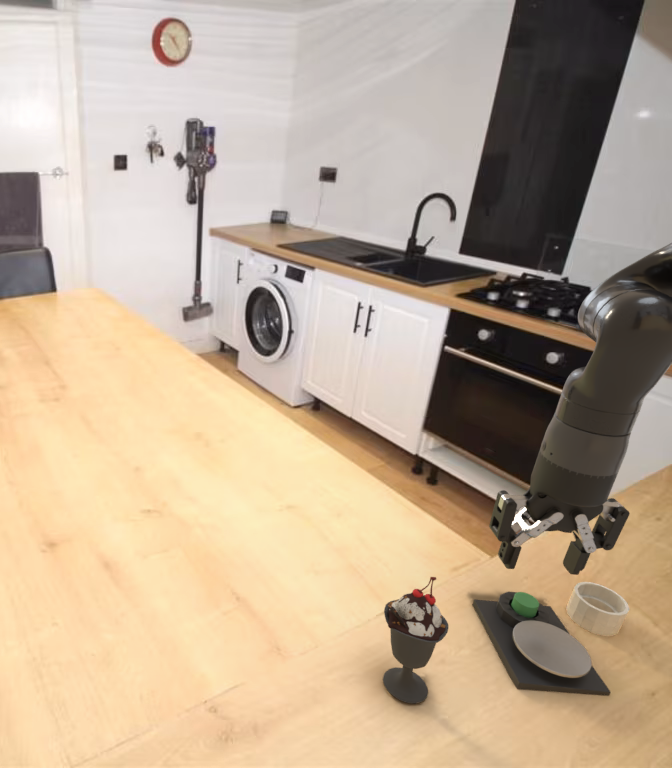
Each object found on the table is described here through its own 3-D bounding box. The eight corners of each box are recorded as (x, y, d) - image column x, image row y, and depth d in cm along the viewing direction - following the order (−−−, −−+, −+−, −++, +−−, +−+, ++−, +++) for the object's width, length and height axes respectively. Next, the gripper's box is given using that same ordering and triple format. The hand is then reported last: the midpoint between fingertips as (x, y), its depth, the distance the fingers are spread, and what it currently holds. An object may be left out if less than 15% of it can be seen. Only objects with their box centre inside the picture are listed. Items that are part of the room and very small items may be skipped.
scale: (545, 611, 75) (552, 595, 74) (607, 700, 63) (615, 682, 62) (470, 604, 76) (475, 588, 75) (516, 690, 64) (523, 673, 63)
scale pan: (566, 625, 69) (567, 623, 69) (606, 681, 62) (607, 679, 62) (500, 619, 70) (501, 617, 70) (532, 674, 63) (533, 671, 63)
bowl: (600, 608, 76) (610, 583, 74) (627, 642, 71) (640, 617, 69) (555, 604, 76) (565, 579, 75) (580, 638, 71) (591, 612, 69)
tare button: (529, 602, 73) (532, 592, 73) (539, 618, 71) (543, 608, 70) (507, 600, 74) (510, 590, 73) (517, 616, 71) (520, 606, 70)
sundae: (438, 675, 66) (457, 574, 61) (432, 720, 60) (452, 612, 55) (380, 654, 69) (394, 556, 64) (370, 694, 63) (384, 591, 58)
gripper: (529, 469, 60) (492, 583, 67) (670, 478, 58) (617, 594, 65) (499, 436, 67) (467, 543, 73) (624, 444, 65) (580, 552, 72)
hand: (538, 567), depth 69 cm, fingers open, 7 cm apart
